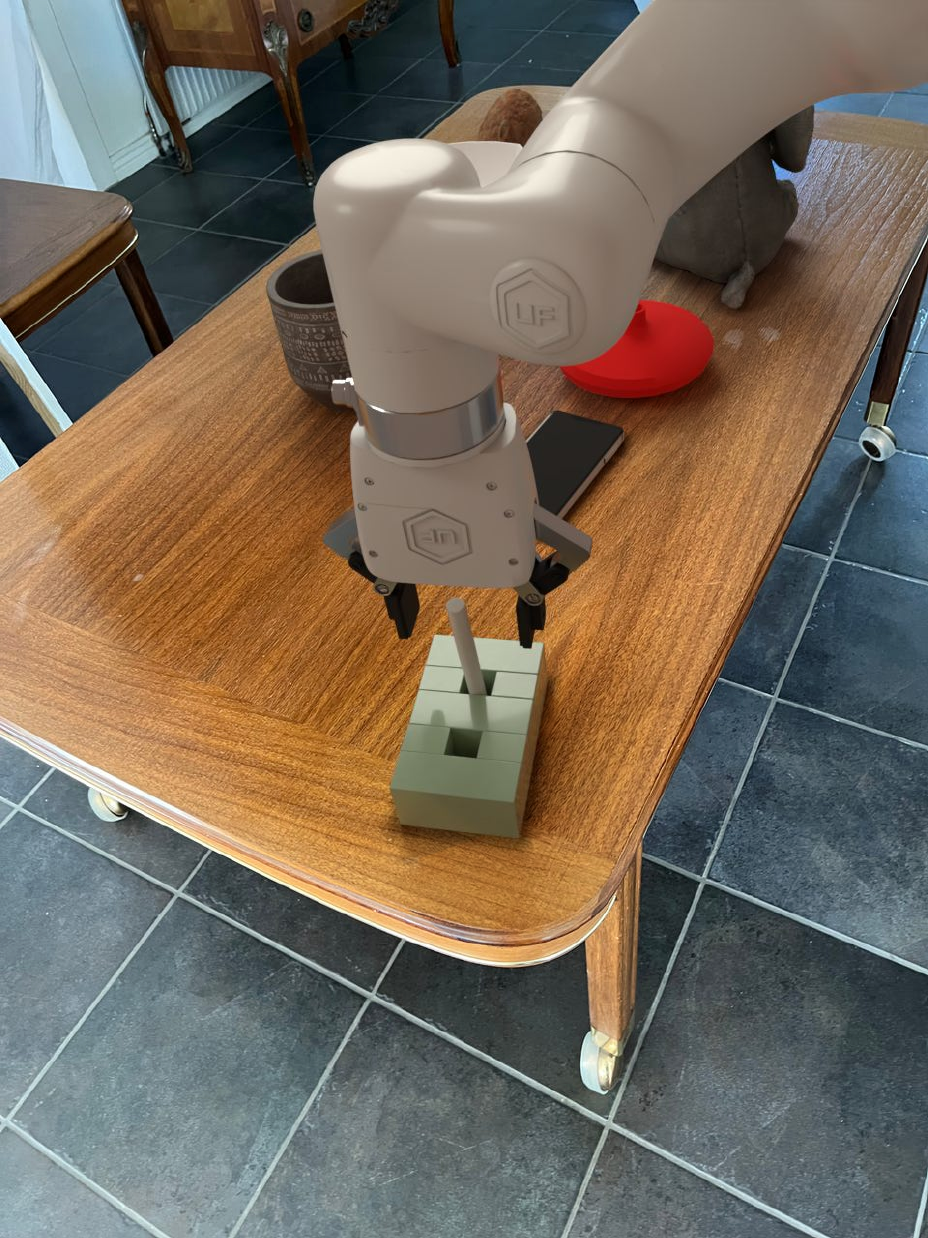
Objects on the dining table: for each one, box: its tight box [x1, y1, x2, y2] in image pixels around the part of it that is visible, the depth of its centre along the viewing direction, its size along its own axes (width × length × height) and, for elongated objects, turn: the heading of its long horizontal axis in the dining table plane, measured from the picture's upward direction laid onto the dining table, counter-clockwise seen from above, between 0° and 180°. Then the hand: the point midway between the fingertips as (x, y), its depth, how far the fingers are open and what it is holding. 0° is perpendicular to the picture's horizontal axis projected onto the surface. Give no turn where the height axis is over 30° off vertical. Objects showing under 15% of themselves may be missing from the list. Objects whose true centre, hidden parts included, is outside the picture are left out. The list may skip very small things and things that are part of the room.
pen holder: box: [388, 633, 549, 839], centre depth 67 cm, size 13×8×4 cm, turn 169°
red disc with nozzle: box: [558, 299, 715, 399], centre depth 96 cm, size 16×16×7 cm
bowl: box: [448, 140, 523, 187], centre depth 118 cm, size 18×18×9 cm
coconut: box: [477, 88, 544, 148], centre depth 131 cm, size 10×13×10 cm
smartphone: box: [525, 409, 625, 520], centre depth 88 cm, size 8×1×15 cm
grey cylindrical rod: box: [445, 597, 487, 696], centre depth 65 cm, size 1×1×14 cm
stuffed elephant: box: [654, 104, 815, 310], centre depth 103 cm, size 19×21×27 cm
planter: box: [265, 249, 355, 412], centre depth 98 cm, size 12×12×13 cm
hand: (468, 626), depth 63 cm, fingers open, 7 cm apart
